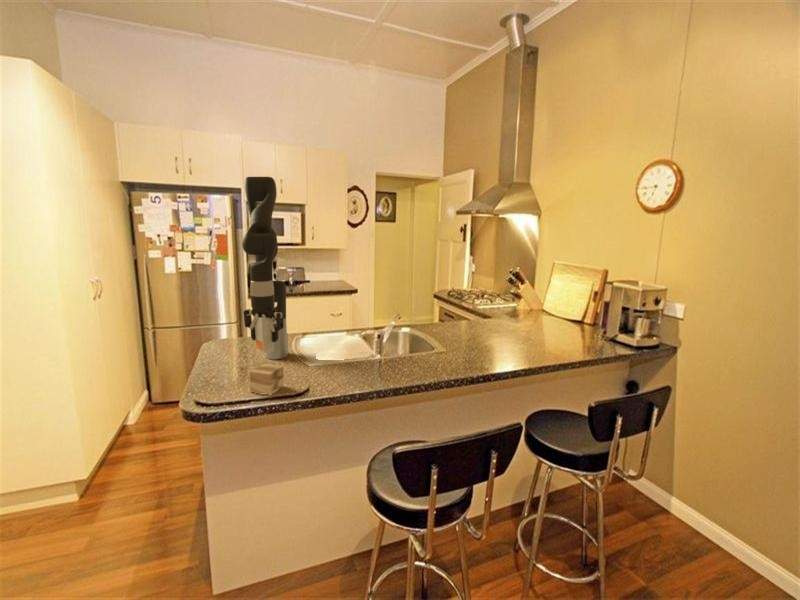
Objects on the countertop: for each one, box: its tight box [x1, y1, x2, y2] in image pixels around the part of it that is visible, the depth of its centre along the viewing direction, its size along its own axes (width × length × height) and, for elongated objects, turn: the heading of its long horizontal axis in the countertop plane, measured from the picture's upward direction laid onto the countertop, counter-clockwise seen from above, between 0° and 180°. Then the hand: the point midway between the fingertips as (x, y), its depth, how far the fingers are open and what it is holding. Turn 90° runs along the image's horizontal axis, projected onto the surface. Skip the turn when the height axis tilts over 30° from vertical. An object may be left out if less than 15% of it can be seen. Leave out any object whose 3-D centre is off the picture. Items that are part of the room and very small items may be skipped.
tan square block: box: [249, 363, 285, 386], centre depth 139 cm, size 8×8×4 cm
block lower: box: [249, 377, 284, 394], centre depth 140 cm, size 8×8×4 cm
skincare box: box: [254, 317, 275, 354], centre depth 136 cm, size 6×4×12 cm
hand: (264, 340), depth 137 cm, fingers closed on skincare box, 7 cm apart
